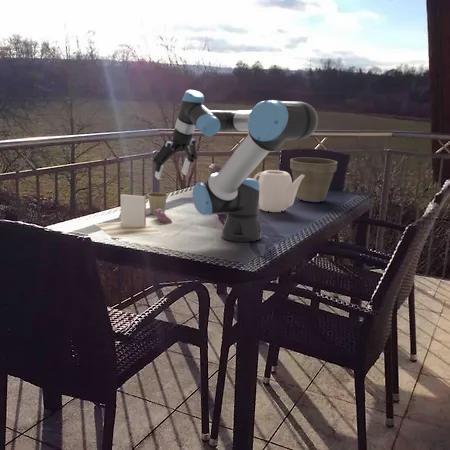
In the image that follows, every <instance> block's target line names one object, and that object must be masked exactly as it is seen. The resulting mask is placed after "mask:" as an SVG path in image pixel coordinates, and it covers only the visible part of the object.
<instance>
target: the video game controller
mask: <svg viewBox="0 0 450 450" xmlns="http://www.w3.org/2000/svg"><path fill="white" fill-rule="evenodd" d="M154 212H155V214H153V215H154V216H155V217H157V219H158V220H159V222H160V223H164V224H172V223H173V221H172V219H170V218H169V217H168V216H167V215H166V213H164V212H163V210H162V209H156V210H155V211H154Z"/></svg>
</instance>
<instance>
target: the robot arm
mask: <svg viewBox="0 0 450 450" xmlns="http://www.w3.org/2000/svg"><path fill="white" fill-rule="evenodd" d="M204 102H205V95H204V94H203V93H202V92H201V91H198V90H197V89H196V90H195V89H188V90H186V91H185V92H184V94H183V97H182V99H181V103H180V108H179V111H178V116H177V119H176V122H175V127H174V129H173V132H172V139H171V141H169V140H167V139H166V140H165V141H164V144H163V146H162V147H161V148H160V150H159V151H158V153H157V154H156V156H155V157H154V158H153V160H152V161H153V162H154V163H155V170H154V171H155V173H154V177H155V178H156V179H157V180H160V179H161V178H162V172H163V170H164V164H165V162H167V161H168V160H169V159H170V158H171V157H172V156H173V155H175V154H176V153H180V152H181V153H182V152H184V154H185V156H186V158H185V159H184V162H183V164H182V168H181V171H180V172H181V173H182V174H183V175H184V176H187V175H188V171H189V168H190V167H191V165H192V163H194V162H195V160H197V159H198V157H197V156H198V155H197V148H196V144H197V141H196V140H195V139H194V138H193V136H194V133H195V130H196V129H197V130H198V131H199V132H200V133H202V134H203V135H204V136H205V137H213V136H214V135H216V134H217V133H219V132H247V135H246V137H245V138H244V140H243V141H242V142H241V144H240V145H238V147H237V148H236V149H235V151H234V152H233V154H232V155H231V156H230V157H229V158H228V160H227V161H226V162H225V163H224V165H223V166H222V168H220V170H219V171H218V172H214V173H212V174H211V175H210V176H208V178H207V180H205V181H204V182H202V181H200V182H198V183H195V185H193V189H192V201H193V204H194V207H195V210H196V211H197V212H198V213H199V214H201V216H206V215H207V216H212V215H219V214H227V216H226V218H225V219H226V220H225V222H224V225H223V227H222V230H221V237H222V238H223V239H225V240H227V241H230V242H231V241H232V242H239V243H251V242H250V241H253V242H256V240H258V241H260V240H261V239H262V230H261V226H260V221H259V192H260V190H259V182H258V181H259V179H257V178H256V179H253V178H251V177H249V176H250V175H251V174H252V172H254V170H255V169H256V168H257V167H258V166H259V164H260V163H261V162H262V161H263V160H264V159H265V158H266V157H267V156H268V154H269V153H273V152H276V151H278V150H279V149H280V148H281V147H282V146H283V145H284V144H285V142H286V141H301V140H305V139H307V138H309V137H310V136H312V135H313V133H315V131H316V130H317V127H318V124H319V117H318V113H317V111H316V109H315V108H314V106H312V105H310V103H306V102H304V101H288V100H287V101H286V100H283V101H282V100H278V99H277V100H276V99H269V100H263V101H259V102H258V103H256V105H254V106H253V108H252V109H249V110H248V109H246V110H245V109H244V110H241V109H240V110H220V109H219V110H218V109H209V108H208V107H207V106H205V105H204ZM259 239H260V240H259Z"/></svg>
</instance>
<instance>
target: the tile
mask: <svg viewBox="0 0 450 450" xmlns="http://www.w3.org/2000/svg"><path fill="white" fill-rule="evenodd" d="M146 196H147V195H136V194H135V195H134V194H124V193H122V194H120V222H121V225H131V226H141V227H145V226H146V224H147V223H146V222H147V212H146V211H147V210H146V209H147V197H146Z"/></svg>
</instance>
